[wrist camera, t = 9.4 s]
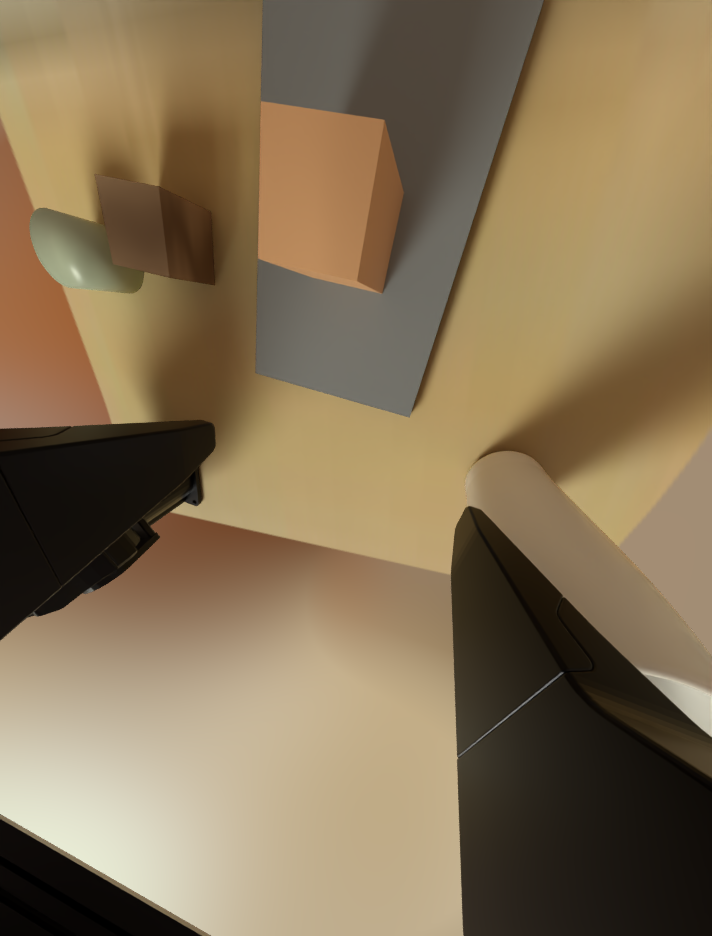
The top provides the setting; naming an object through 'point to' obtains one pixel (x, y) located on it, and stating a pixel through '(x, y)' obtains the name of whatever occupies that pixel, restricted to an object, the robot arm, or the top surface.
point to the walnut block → (156, 230)
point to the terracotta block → (327, 195)
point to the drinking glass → (594, 577)
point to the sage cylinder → (79, 253)
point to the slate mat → (419, 165)
